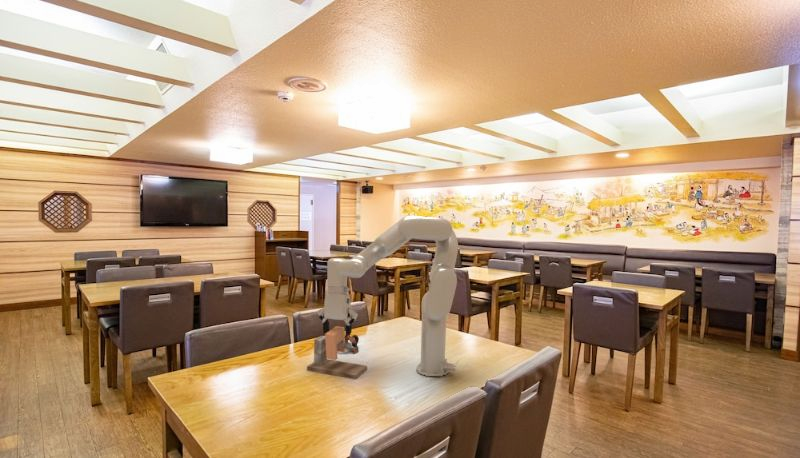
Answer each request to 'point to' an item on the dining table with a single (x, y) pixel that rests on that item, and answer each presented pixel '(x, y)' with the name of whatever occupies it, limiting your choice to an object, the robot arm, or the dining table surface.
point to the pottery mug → (353, 342)
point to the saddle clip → (334, 342)
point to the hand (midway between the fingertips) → (337, 333)
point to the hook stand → (333, 361)
